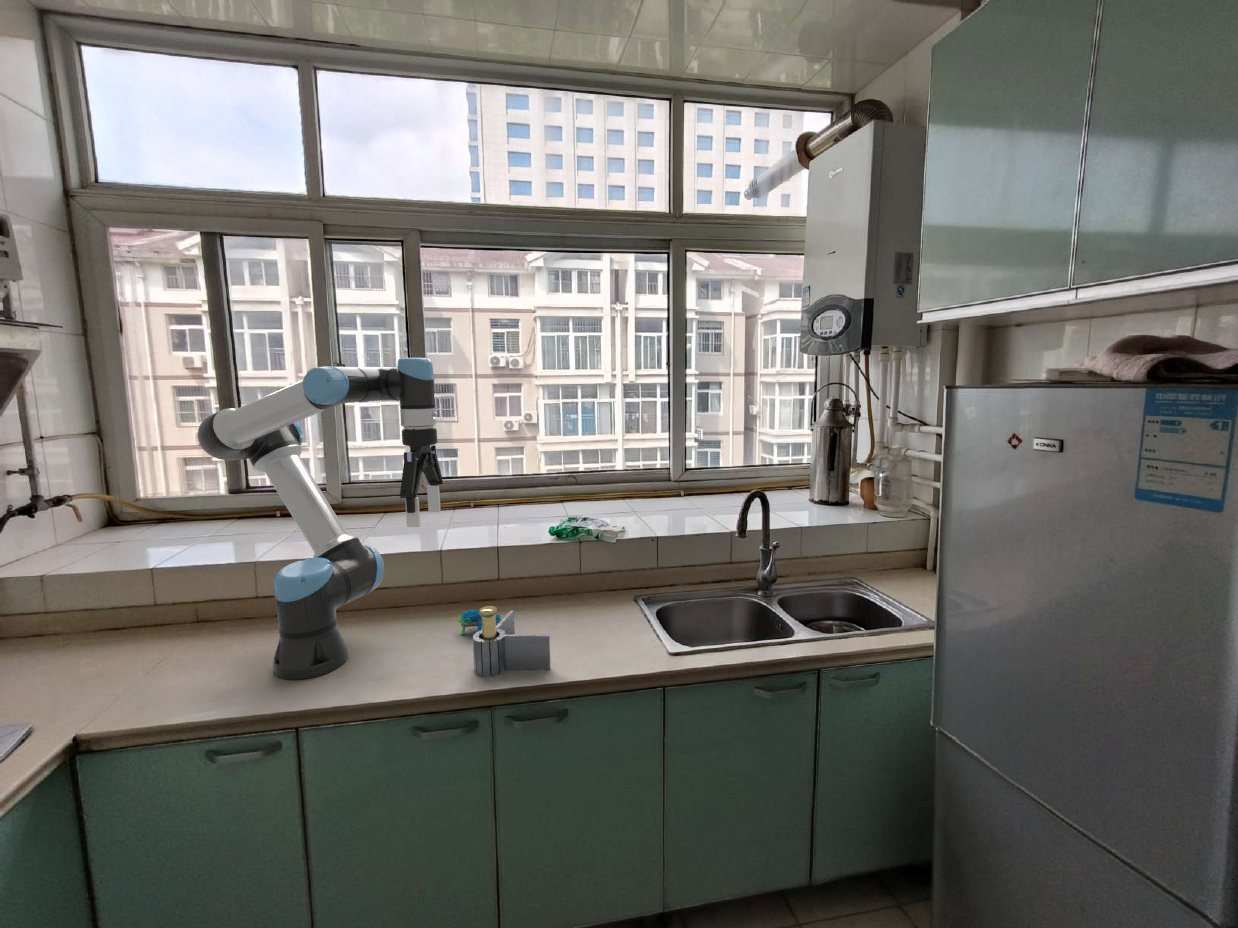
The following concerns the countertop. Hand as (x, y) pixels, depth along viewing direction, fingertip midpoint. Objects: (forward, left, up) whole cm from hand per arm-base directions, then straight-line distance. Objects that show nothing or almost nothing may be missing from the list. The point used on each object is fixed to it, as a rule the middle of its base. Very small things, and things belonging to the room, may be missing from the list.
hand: (424, 518), depth 133 cm
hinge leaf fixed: (+21, -8, -33) cm, 40 cm away
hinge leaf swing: (+18, +1, -33) cm, 37 cm away
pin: (+16, -8, -33) cm, 37 cm away
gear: (+9, +11, -33) cm, 36 cm away
